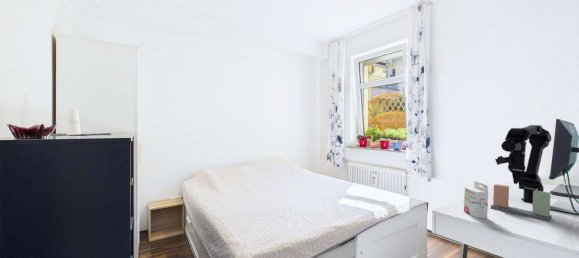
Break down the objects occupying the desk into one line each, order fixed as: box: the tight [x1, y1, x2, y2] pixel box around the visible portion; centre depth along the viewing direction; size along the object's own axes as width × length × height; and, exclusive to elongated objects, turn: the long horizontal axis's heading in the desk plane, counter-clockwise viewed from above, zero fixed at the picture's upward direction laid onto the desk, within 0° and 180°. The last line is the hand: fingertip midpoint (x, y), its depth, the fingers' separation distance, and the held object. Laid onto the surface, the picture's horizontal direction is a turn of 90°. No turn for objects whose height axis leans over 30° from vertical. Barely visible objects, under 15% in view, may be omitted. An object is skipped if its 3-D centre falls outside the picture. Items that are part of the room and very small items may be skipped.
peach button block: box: [492, 183, 510, 208], centre depth 121 cm, size 4×5×10 cm
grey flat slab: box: [490, 204, 553, 222], centre depth 115 cm, size 6×20×1 cm, turn 36°
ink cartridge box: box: [463, 180, 489, 219], centre depth 111 cm, size 9×5×15 cm, turn 179°
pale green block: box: [531, 190, 552, 217], centre depth 110 cm, size 4×5×10 cm
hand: (515, 183), depth 125 cm, fingers open, 9 cm apart
